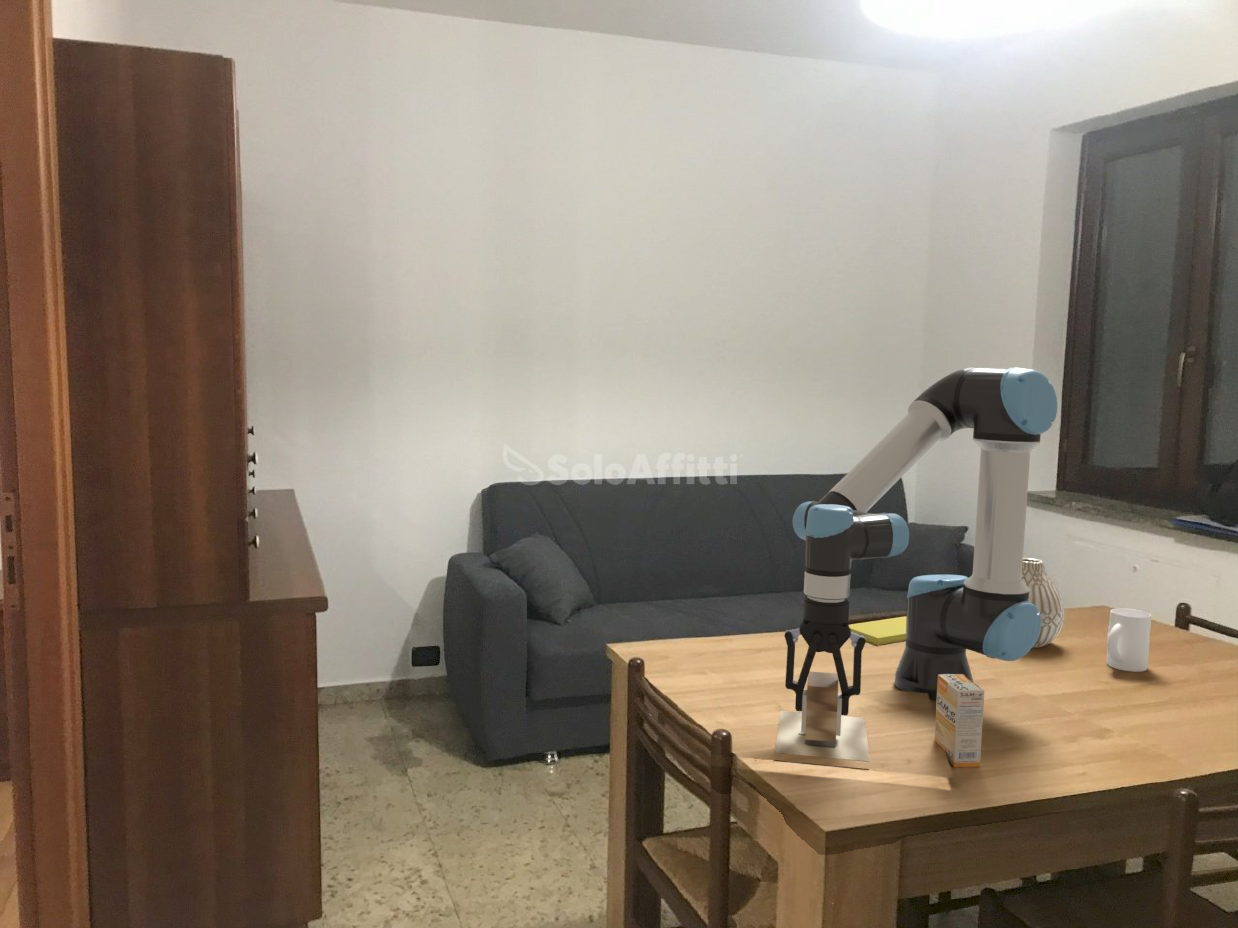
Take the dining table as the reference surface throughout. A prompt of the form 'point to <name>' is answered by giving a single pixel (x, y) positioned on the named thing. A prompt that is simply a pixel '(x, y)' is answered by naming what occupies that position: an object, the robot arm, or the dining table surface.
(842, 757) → the board
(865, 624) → the yellow rectangular slab
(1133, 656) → the mug
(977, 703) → the supplement box
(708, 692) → the dining table surface
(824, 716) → the block
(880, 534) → the robot arm
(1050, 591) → the vase
